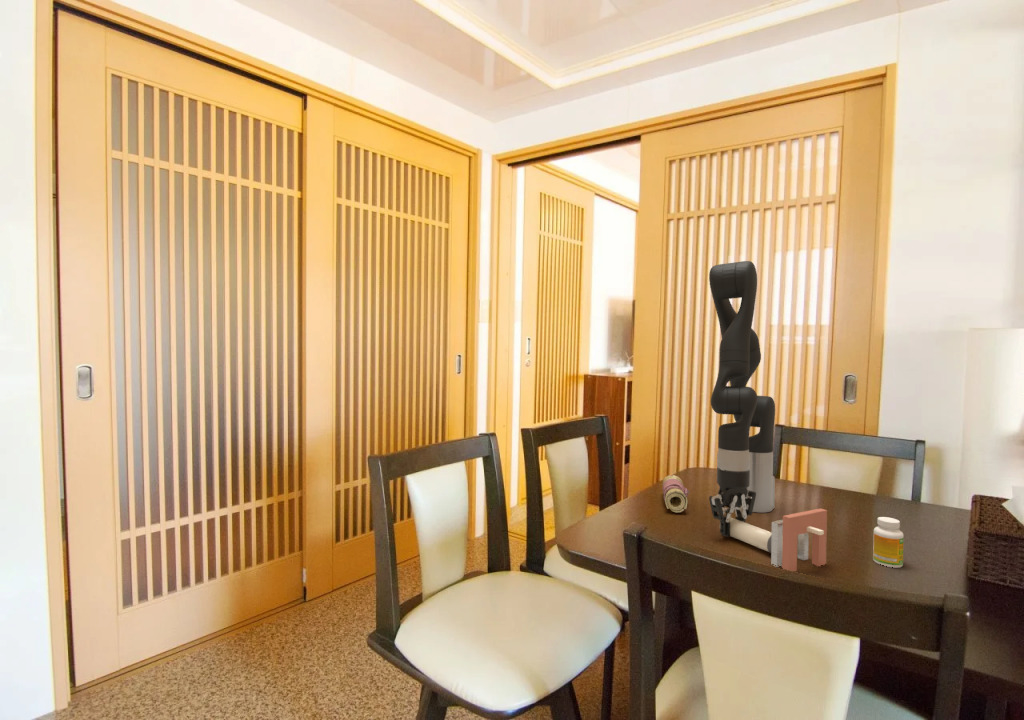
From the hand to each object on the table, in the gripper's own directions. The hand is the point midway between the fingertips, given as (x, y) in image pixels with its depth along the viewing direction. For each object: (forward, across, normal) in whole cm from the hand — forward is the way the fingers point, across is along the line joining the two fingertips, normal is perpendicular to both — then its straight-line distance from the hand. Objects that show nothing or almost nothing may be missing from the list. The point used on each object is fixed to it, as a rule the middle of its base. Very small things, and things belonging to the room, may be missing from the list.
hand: (732, 534), depth 131 cm
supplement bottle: (+1, -19, +26) cm, 32 cm away
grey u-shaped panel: (+1, 0, +16) cm, 16 cm away
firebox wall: (+1, 0, +21) cm, 21 cm away
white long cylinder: (0, 0, +6) cm, 6 cm away
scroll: (+1, -6, -27) cm, 28 cm away
